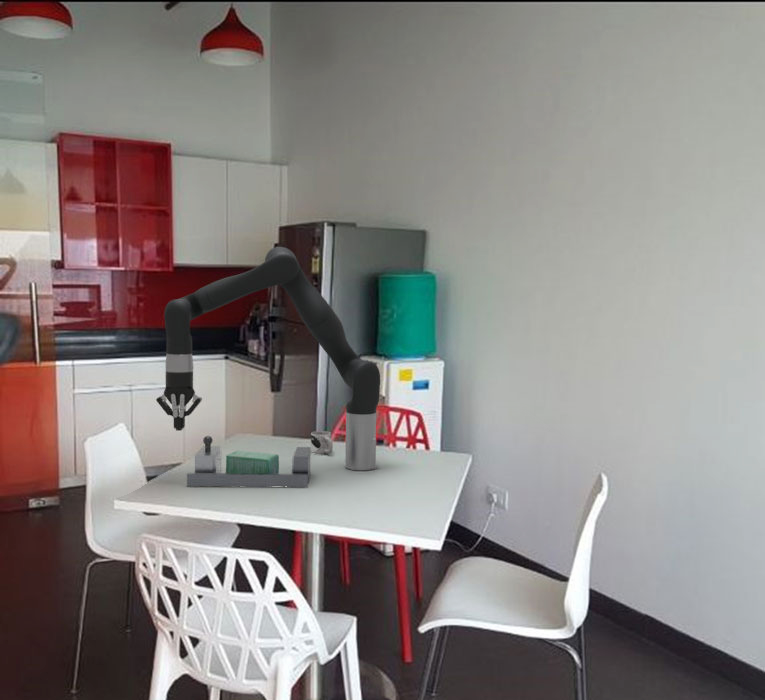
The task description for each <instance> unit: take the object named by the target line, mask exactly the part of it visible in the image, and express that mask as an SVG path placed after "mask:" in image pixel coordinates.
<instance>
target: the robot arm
mask: <svg viewBox="0 0 765 700" xmlns="http://www.w3.org/2000/svg"><path fill="white" fill-rule="evenodd" d="M277 286H281V287H282V288H283V289H284V290H285V292H286V293H287V295H288V296H289V298H290V300H291V302H292V304H293V305H294V308H295V310H296V312H297V314H298V315H299V317H300V319H301V320H302V322H303V324H304V325H305V327H306V328H307V330H308V331H309V332H310V334H311V335H312V336H313V337H314V339H315V340H316V341H317V342H318V343H319V345H320V346H321V348H322V349H323V350H324V352H325V353H326V354H327V356H329V358H330V360H331V361H332V363H333V364H334V366H335V368H336V370H337V371H338V373H339V376H341V379H342V381H344V383H345V384H346V385H347V386H348V387H349V388H352V397H351V400H350V401H348V402H347V403H346V406H345V407H346V408H345V409H346V411H345V412H346V413H345V415H346V417H345V418H346V419H345V459H344V460H345V461H344V462H345V465H344V467H345V469H348V470H352V471H369V470H376V466H377V465H376V464H377V461H376V458H377V456H376V455H377V428H376V427H377V407H378V404H379V403H380V392H381V391H380V390H381V372H380V370H379V369H380V368H379V367H378V365H377V364H375V362H372V361H369V360H365V359H361V358H360V356H358V355H357V353H356V352H355V351H354V350H353V348H352V347H351V345H350V344H349V342H348V340H347V336H346V332H345V330H344V326H343V323H342V322H341V320H340V318H339V317H338V315H337V314H336V312H335V311H334V309H333V308H332V307H331V305H330V304H329V303H328V302H327V300H326V299H325V298H324V297H323V295H322V294H321V293H320V292H319V291H318V289H317V288H315V285H313V284H312V283H311V281H309V278H308V277H307V276H306V274H305V272H304V271H303V268H302V267H301V265H300V263H299V261H298V259H297V257H296V255H295V253H294V252H293V251H292V250H291V249H289V248H287V247H284V246H274V247H273V248H271V249H270V250H269V251H268V252H267V254H266V256H265V258H264V262H263V263H261V264H259V265H258V266H256V267H254V268H252V269H250V270H248V271H245V272H242V273H240V274H236V275H231V276H227V277H224V278H222V279H219V280H216V281H213V282H210V283H209V284H207V285H205V286H203V287H201V288H199V289H198V290H196V291H195V292H192V293H190V294H187V295H186V296H183V297H180V298H177V299H172V300H169V302H168V303H167V304H166V306H165V309H164V326H165V327H164V328H165V334H166V357H165V389H164V391H163V394H162V395H160V396H159V397H157V398H156V399H155V400H156V403H157V404H158V405H159V407H161V409H162V410H163V411H164V412H165V413H166V415H167V416H171V417H172V418H173V429H175V431H180V432H181V431H183V430H184V428H185V426H186V423H185V422H186V416H187V417H188V416H190V415H191V414H192V413H193V412H194V410H196V408H197V407H198V405H200V403H202V401H203V398H202V397H201V396H198V395H197V394H196V391H195V389H194V359H193V358H194V357H193V337H192V335H191V321H192V320H194V319H196V318H199V317H201V316H202V315H204V314H206V313H209V312H212V311H214V310H217V309H219V308H221V307H223V306H225V305H228V304H229V303H232V302H235V301H236V300H238V299H240V298H244V297H245V296H248V295H250V294H253V293H256V292H259V291H262V290H264V289H269V288H272V287H277ZM167 400H168V402H169V404H170V405H171V406H170V405H169V404H168V403H167ZM191 400H192V404H191V406H190V407H189V408H188V410H187V405H188V404H189V403H190V401H191Z"/></svg>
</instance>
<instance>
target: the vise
mask: <svg viewBox="0 0 765 700" xmlns="http://www.w3.org/2000/svg"><path fill="white" fill-rule="evenodd" d="M311 454H312V453H311V446H307V447H306V446H297V447H296V449H295V451H294V452H293V454H292V455H293V456H292V458H291V459H292V460H291V473H279V474H271V473H226V472H220V473H195V472H188V473H186V487H188V488H196V487H197V486H238V487H237V488H241V487H240V486H246V487H245V488H273V487H272V486H283V487H282V488H296V487H307V488H308V486H309V481H310V476H311ZM267 486H268V487H267ZM269 486H271V487H269ZM285 486H287V487H285ZM197 488H198V487H197Z"/></svg>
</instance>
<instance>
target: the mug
mask: <svg viewBox="0 0 765 700" xmlns="http://www.w3.org/2000/svg"><path fill="white" fill-rule="evenodd" d="M310 447H311V452H312V453H315V454H326V455H329V454H328V453H330V454H332V453H333V440H332V432H331V431H325V430H318V431H317V430H316V431H312V432H311V433H310ZM312 453H311V454H312ZM315 454H314V455H315Z"/></svg>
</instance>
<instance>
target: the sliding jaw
mask: <svg viewBox="0 0 765 700" xmlns="http://www.w3.org/2000/svg"><path fill="white" fill-rule="evenodd" d="M203 444H204V445H203V446H202V447H201V448H200V449H199V450H198V451H197V453H195V454H194V473H222V471H223V470H222V469H223V467H222V465H223V464H222V463H223V462H222V458H223V457H222V453H223V451H222V450H221V446H213V445H211V444H213V437H212V436H210V435H207V436H204V437H203Z"/></svg>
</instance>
